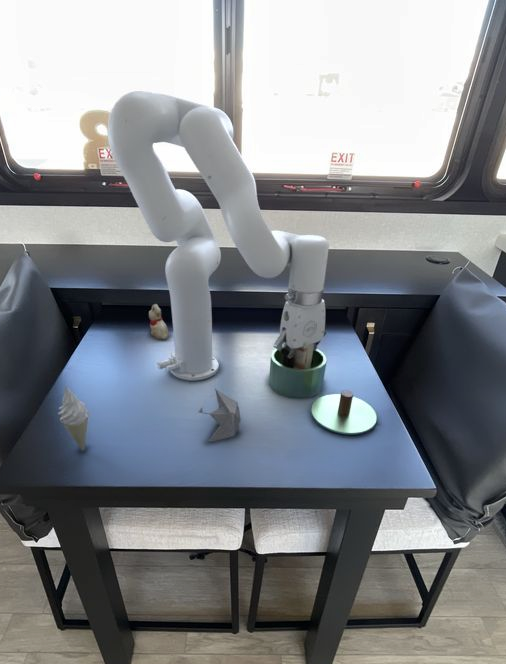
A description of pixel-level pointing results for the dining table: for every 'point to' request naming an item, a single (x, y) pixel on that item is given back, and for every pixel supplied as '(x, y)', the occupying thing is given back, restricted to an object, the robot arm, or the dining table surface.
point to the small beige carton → (303, 356)
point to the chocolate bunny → (158, 324)
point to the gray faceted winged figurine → (225, 417)
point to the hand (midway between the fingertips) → (297, 366)
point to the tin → (297, 376)
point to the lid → (343, 413)
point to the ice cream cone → (74, 417)
